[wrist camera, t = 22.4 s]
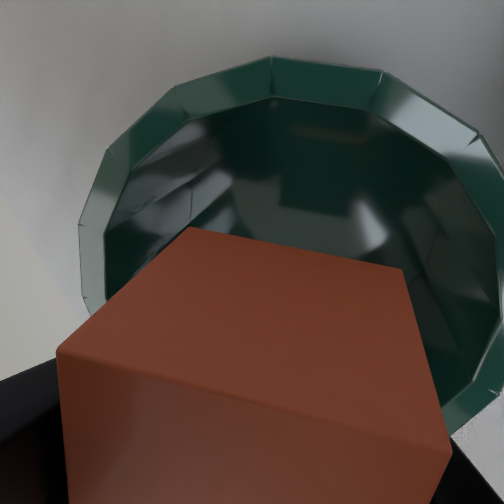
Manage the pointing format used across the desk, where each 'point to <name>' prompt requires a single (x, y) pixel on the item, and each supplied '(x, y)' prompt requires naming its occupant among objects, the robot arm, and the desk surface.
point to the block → (251, 383)
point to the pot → (319, 197)
